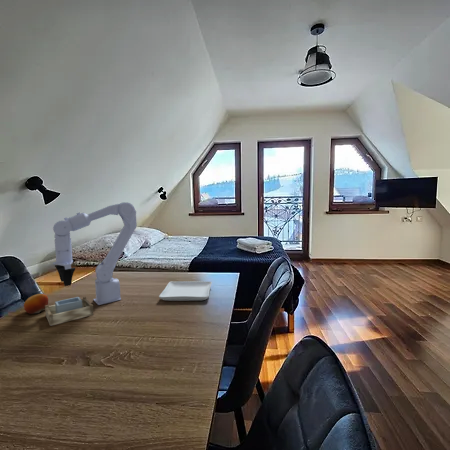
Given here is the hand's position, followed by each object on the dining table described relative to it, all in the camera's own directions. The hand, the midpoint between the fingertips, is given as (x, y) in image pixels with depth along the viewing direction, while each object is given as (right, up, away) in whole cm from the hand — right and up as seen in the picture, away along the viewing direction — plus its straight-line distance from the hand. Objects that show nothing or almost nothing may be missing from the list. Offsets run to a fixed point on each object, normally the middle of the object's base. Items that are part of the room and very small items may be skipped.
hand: (65, 283), depth 111 cm
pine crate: (+6, -11, -7) cm, 14 cm away
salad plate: (+48, -9, +14) cm, 50 cm away
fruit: (-10, -11, -3) cm, 15 cm away
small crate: (+6, -10, -7) cm, 14 cm away
